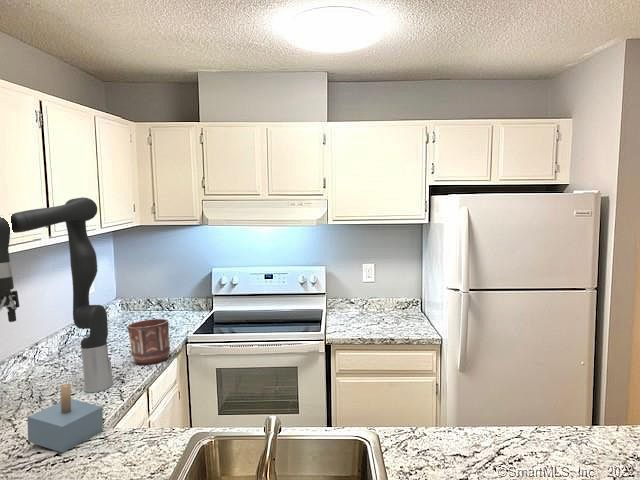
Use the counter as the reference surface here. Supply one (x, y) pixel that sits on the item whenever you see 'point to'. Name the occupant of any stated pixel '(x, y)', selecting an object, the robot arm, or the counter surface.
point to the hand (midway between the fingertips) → (4, 324)
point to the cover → (65, 423)
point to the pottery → (149, 340)
